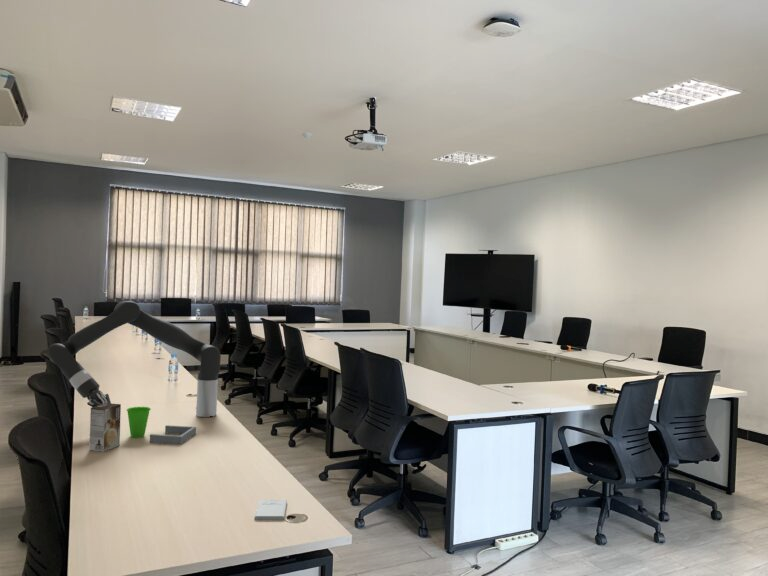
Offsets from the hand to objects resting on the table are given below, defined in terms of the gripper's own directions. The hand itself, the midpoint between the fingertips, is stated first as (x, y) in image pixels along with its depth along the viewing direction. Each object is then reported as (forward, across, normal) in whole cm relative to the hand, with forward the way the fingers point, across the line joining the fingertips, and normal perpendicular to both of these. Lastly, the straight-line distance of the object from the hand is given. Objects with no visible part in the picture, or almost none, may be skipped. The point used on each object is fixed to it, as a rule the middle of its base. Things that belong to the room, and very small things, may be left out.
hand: (112, 415), depth 236 cm
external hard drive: (+64, -65, -52) cm, 105 cm away
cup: (+13, 0, -2) cm, 13 cm away
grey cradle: (+23, 0, -12) cm, 26 cm away
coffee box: (+11, -18, +1) cm, 21 cm away
